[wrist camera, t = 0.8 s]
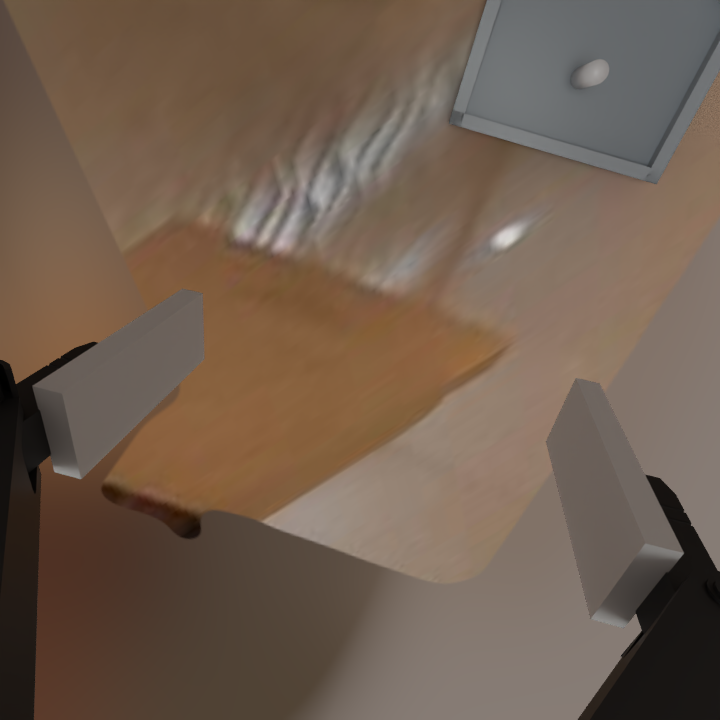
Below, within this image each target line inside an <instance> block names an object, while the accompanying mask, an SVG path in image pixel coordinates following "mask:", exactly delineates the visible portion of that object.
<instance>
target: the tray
mask: <svg viewBox="0 0 720 720" xmlns="http://www.w3.org/2000/svg"><path fill="white" fill-rule="evenodd" d="M719 70H720V0H487V2H486V5H485V8H484V12H483V15H482V18H481V21H480V25H479V28H478V31H477V34H476V37H475V41H474V44H473V47H472V50H471V53H470V57H469V60H468V63H467V66H466V70H465V73H464V76H463V79H462V82H461V86H460V89H459V92H458V95H457V98H456V102H455V105H454V108H453V111H452V115H451V118H450V121H449V124H452V125H456V126H459V127H463V128H466V129H470V130H473V131H476V132H480V133H483V134H487V135H490V136H493V137H497V138H500V139H504V140H507V141H510V142H514V143H517V144H521V145H524V146H528V147H531V148H534V149H538V150H541V151H545V152H548V153H551V154H555V155H558V156H562V157H565V158H569V159H572V160H575V161H579V162H582V163H586V164H589V165H592V166H596V167H599V168H603V169H606V170H610V171H613V172H616V173H620V174H623V175H627V176H630V177H633V178H637V179H640V180H644V181H647V182H651V183H654V184H657V182H658V181H659V179H660V177H661V175H662V173H663V172H664V170H665V168H666V166H667V164H668V163H669V161H670V159H671V157H672V155H673V153H674V152H675V150H676V148H677V146H678V144H679V143H680V141H681V139H682V137H683V135H684V134H685V132H686V130H687V128H688V126H689V125H690V123H691V121H692V119H693V117H694V116H695V114H696V112H697V110H698V108H699V107H700V105H701V103H702V101H703V99H704V98H705V96H706V94H707V92H708V90H709V89H710V87H711V85H712V83H713V81H714V79H715V78H716V76H717V74H718V72H719Z"/></svg>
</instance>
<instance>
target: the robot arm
mask: <svg viewBox="0 0 720 720" xmlns="http://www.w3.org/2000/svg"><path fill="white" fill-rule="evenodd" d="M203 360H204V327H203V293H199V292H195V291H191V290H186V289H181V290H180V291H178V292H177V293H175V294H174V295H172V296H170V297H169V298H167V299H166V300H164V301H163V302H161V303H160V304H158V305H157V306H155V307H153V308H152V309H150V310H149V311H147V312H146V313H144V314H143V315H141V316H140V317H138V318H137V319H135V320H133V321H132V322H130V323H129V324H127V325H126V326H124V327H123V328H121V329H120V330H118V331H116V332H115V333H113V334H112V335H111V336H109V337H107V338H106V339H104V340H103V341H101V342H99V343H96V342H91V343H88V344H85V345H82V346H79V347H76V348H74V349H72V350H71V351H69V352H68V353H66V354H64V355H63V356H61V358H60V359H59V358H58V359H56V360H55V361H53V362H51V363H50V364H49V366H45V367H43V368H42V369H40V370H39V371H37V372H35V373H34V374H32V375H30V376H29V377H27V378H26V379H24V380H22V381H21V382H19V383H18V384H15V380H14V376H13V373H12V369H11V367H10V364H8V363H7V362H5V361H3V360H0V720H34V697H35V696H34V695H35V663H36V628H37V626H36V625H37V595H38V594H37V593H38V562H39V528H40V494H41V472H40V469H39V464H40V463H41V462H43V460H45V459H46V458H47V457H49V456H51V460H52V464H53V468H54V472H57V473H60V474H64V475H68V476H71V477H75V478H79V479H82V478H83V477H84V476H85V475H86V474H87V473H88V472H89V471H90V470H91V469H92V468H93V467H94V466H95V465H96V464H97V463H98V462H99V461H100V460H101V459H102V458H103V457H104V456H105V455H106V454H108V452H110V451H111V450H112V449H113V448H114V447H115V446H116V445H117V444H118V443H119V442H120V441H121V440H122V439H123V438H124V437H125V436H126V435H127V434H128V433H129V432H130V431H131V430H132V429H133V428H134V427H135V426H136V425H137V424H138V423H139V422H140V421H141V420H142V419H143V418H144V417H145V416H146V415H147V414H149V413H150V412H151V411H152V410H153V409H154V408H155V407H156V406H157V405H158V404H159V402H161V401H162V400H163V399H164V398H165V397H166V396H167V395H168V394H169V393H170V392H171V391H172V390H173V389H174V388H175V387H176V386H177V385H178V384H179V383H180V382H181V381H182V380H183V379H184V378H185V377H186V376H188V375H189V374H190V373H191V372H192V371H193V370H194V369H195V368H196V367H197V366H198V365H199V364H200V363H201V362H202V361H203ZM546 443H547V447H548V451H549V455H550V459H551V463H552V467H553V471H554V475H555V479H556V483H557V487H558V491H559V495H560V499H561V503H562V507H563V511H564V515H565V519H566V522H567V527H568V531H569V535H570V539H571V543H572V547H573V551H574V555H575V559H576V562H577V567H578V571H579V575H580V578H581V583H582V587H583V591H584V595H585V599H586V602H587V607H588V610H589V615H590V618H591V619H592V620H596V621H600V622H603V623H607V624H610V625H614V626H618V627H621V628H624V627H625V626H626V625H627V624H628V623H629V621H630V620H631V619H632V617H633V616H634V615H635V614H637V617H638V620H639V623H640V626H641V629H642V631H641V633H640V634H639V635H638V636H637V637H636V639H635V640H634V641H633V642H632V643H631V644H630V645H629V647H628V648H627V649H626V650H625V651H624V653H623V654H622V655H621V656H622V658H621V660H620V661H619V662H618V664H617V665H616V666H615V668H614V669H613V671H612V672H611V674H610V675H609V676H608V678H607V679H606V681H605V682H604V683H603V685H602V686H601V688H600V689H599V691H598V692H597V693H596V695H595V696H594V697H593V699H592V700H591V702H590V703H589V704H588V706H587V707H586V709H585V710H584V711H583V713H582V714H581V716H580V717H579V718H578V720H720V572H719V571H717V569H716V567H715V565H714V563H713V561H712V560H711V558H710V556H709V554H708V552H707V551H706V549H705V547H704V545H703V543H702V541H701V540H700V538H699V536H698V534H697V532H696V531H695V529H694V527H693V526H691V522H690V520H689V518H688V516H687V514H686V513H684V509H683V507H682V505H681V503H680V502H679V500H678V498H677V496H676V494H675V493H674V492H673V491H672V490H671V489H670V488H669V487H668V486H667V485H666V484H665V483H664V482H663V481H662V480H661V479H660V478H657V477H653V476H648V475H645V474H644V472H643V470H642V468H641V466H640V464H639V462H638V460H637V458H636V456H635V454H634V452H633V450H632V448H631V446H630V444H629V442H628V440H627V438H626V436H625V433H624V431H623V429H622V428H621V425H620V423H619V422H618V420H617V417H616V415H615V414H614V411H613V409H612V407H611V406H610V404H609V401H608V399H607V397H606V395H605V393H604V391H603V389H602V387H601V385H600V383H596V382H591V381H587V380H583V379H578V378H576V379H575V381H574V383H573V385H572V387H571V389H570V392H569V394H568V396H567V398H566V400H565V402H564V404H563V406H562V409H561V411H560V413H559V415H558V417H557V419H556V421H555V424H554V426H553V428H552V430H551V432H550V434H549V436H548V438H547V441H546Z"/></svg>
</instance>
